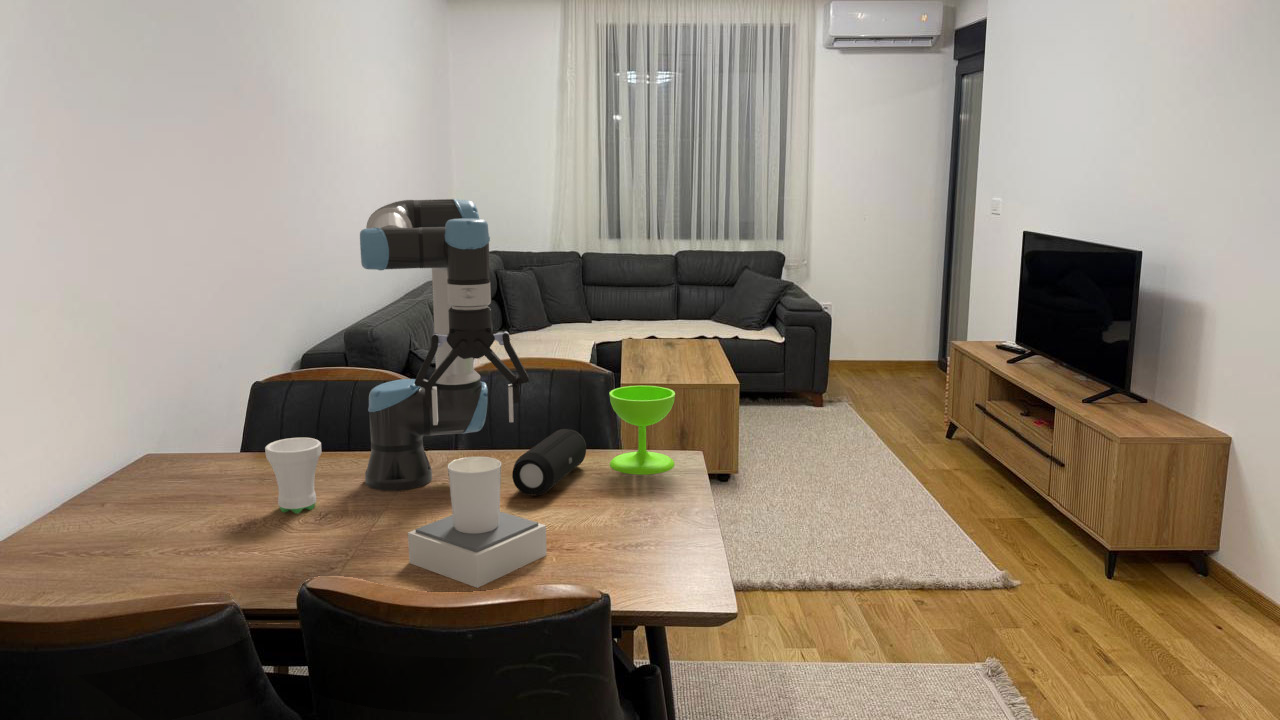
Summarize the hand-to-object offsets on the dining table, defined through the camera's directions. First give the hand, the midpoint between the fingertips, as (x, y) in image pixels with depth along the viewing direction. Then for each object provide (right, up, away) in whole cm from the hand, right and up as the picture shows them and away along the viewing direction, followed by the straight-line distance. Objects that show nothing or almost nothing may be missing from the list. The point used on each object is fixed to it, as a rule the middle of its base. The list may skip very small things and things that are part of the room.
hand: (473, 422), depth 179 cm
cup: (-43, -21, +32) cm, 58 cm away
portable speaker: (+10, -17, +50) cm, 54 cm away
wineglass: (+31, -15, +62) cm, 71 cm away
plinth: (0, -26, +5) cm, 27 cm away
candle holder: (0, -20, +4) cm, 20 cm away
